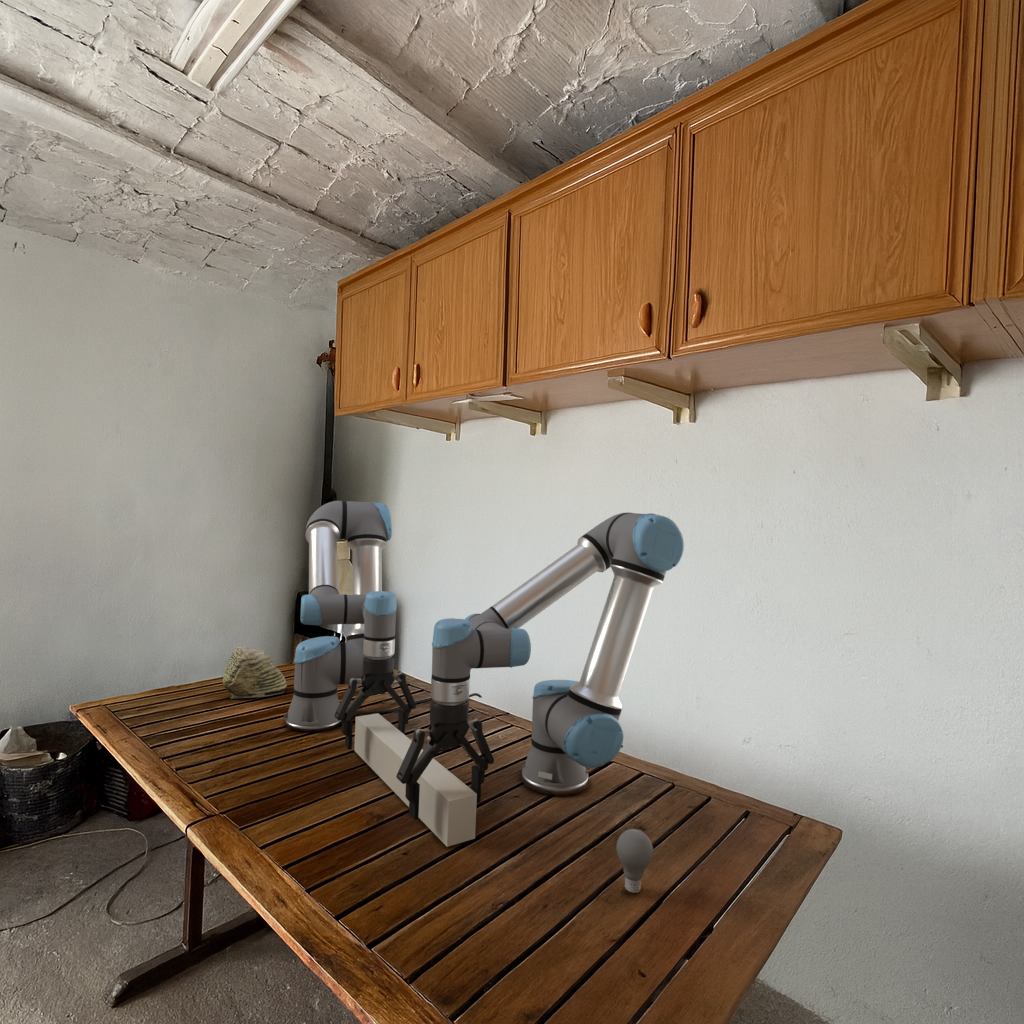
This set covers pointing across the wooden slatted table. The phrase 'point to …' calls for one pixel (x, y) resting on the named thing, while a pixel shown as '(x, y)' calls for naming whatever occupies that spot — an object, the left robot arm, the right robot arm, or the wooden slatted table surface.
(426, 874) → the wooden slatted table surface
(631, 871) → the light bulb
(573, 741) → the right robot arm
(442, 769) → the post
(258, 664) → the fossil
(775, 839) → the wooden slatted table surface
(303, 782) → the wooden slatted table surface
